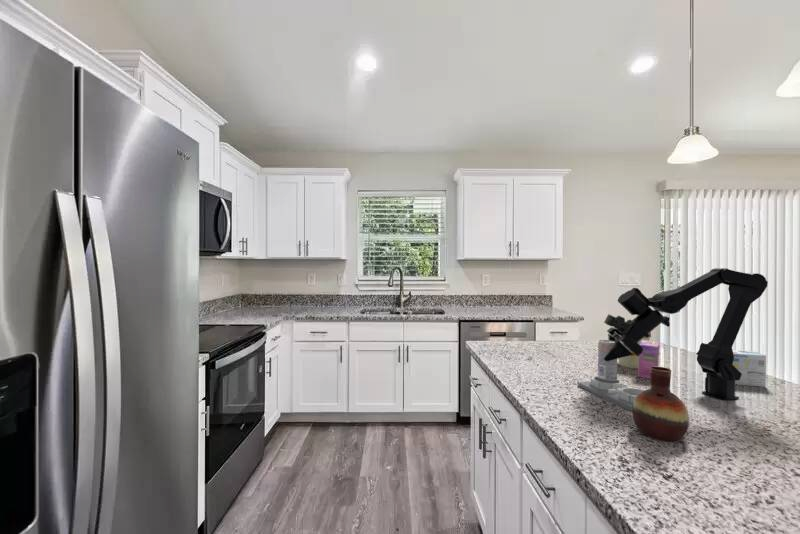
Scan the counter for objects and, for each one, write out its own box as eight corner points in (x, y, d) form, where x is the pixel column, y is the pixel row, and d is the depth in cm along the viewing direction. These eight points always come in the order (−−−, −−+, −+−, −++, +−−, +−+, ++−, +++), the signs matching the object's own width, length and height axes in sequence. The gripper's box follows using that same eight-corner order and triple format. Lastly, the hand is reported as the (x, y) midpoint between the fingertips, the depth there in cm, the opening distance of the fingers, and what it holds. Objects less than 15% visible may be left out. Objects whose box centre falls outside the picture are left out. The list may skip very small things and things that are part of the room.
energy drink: (612, 376, 124) (612, 340, 124) (620, 381, 119) (620, 343, 119) (595, 376, 124) (595, 339, 124) (602, 381, 119) (602, 342, 119)
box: (657, 380, 133) (657, 346, 133) (637, 377, 137) (638, 344, 137) (659, 373, 141) (659, 341, 141) (640, 370, 145) (641, 339, 145)
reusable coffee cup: (606, 363, 156) (607, 326, 156) (627, 360, 161) (627, 324, 161) (637, 371, 144) (637, 331, 144) (657, 367, 150) (658, 329, 150)
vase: (635, 420, 98) (636, 360, 98) (689, 432, 91) (691, 368, 91) (628, 434, 89) (629, 368, 89) (687, 449, 82) (688, 378, 82)
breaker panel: (671, 408, 106) (671, 397, 106) (631, 411, 104) (631, 399, 104) (612, 384, 128) (612, 374, 128) (577, 385, 125) (578, 376, 125)
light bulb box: (754, 381, 133) (754, 350, 133) (766, 387, 127) (767, 355, 127) (717, 378, 136) (718, 348, 136) (728, 384, 130) (729, 352, 130)
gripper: (614, 303, 129) (578, 334, 132) (630, 309, 111) (589, 345, 114) (640, 327, 127) (603, 358, 130) (661, 338, 109) (618, 373, 112)
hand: (602, 358), depth 122 cm, fingers closed on energy drink, 5 cm apart
